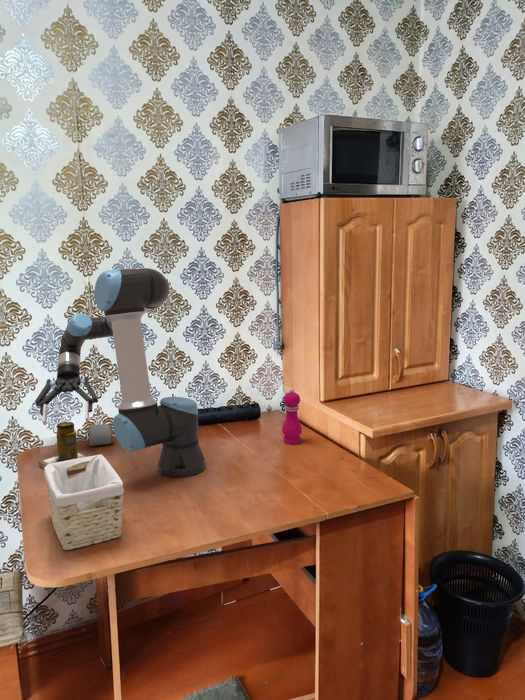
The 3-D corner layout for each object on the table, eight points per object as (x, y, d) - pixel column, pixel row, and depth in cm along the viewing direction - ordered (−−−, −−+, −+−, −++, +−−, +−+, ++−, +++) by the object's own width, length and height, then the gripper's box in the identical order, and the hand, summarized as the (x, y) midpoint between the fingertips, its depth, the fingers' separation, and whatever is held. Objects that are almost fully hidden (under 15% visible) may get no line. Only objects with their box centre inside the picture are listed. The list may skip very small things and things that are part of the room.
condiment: (77, 453, 191) (74, 419, 189) (81, 462, 183) (78, 426, 181) (54, 457, 188) (51, 422, 185) (57, 466, 180) (54, 430, 178)
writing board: (97, 465, 186) (97, 459, 186) (61, 478, 177) (60, 471, 176) (75, 455, 195) (74, 449, 195) (39, 466, 186) (38, 460, 185)
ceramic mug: (114, 446, 204) (112, 425, 203) (90, 449, 201) (88, 428, 200) (110, 437, 214) (109, 417, 212) (88, 440, 211) (86, 420, 210)
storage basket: (46, 514, 153) (41, 463, 150) (107, 501, 161) (103, 451, 158) (60, 556, 132) (55, 498, 130) (129, 539, 140) (125, 483, 137)
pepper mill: (283, 437, 210) (282, 385, 206) (302, 438, 209) (302, 385, 205) (281, 444, 203) (280, 390, 199) (301, 445, 202) (301, 391, 198)
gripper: (106, 371, 205) (105, 424, 193) (33, 375, 200) (28, 429, 189) (104, 360, 199) (103, 413, 187) (29, 364, 194) (23, 419, 183)
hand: (65, 421), depth 188 cm, fingers open, 13 cm apart
